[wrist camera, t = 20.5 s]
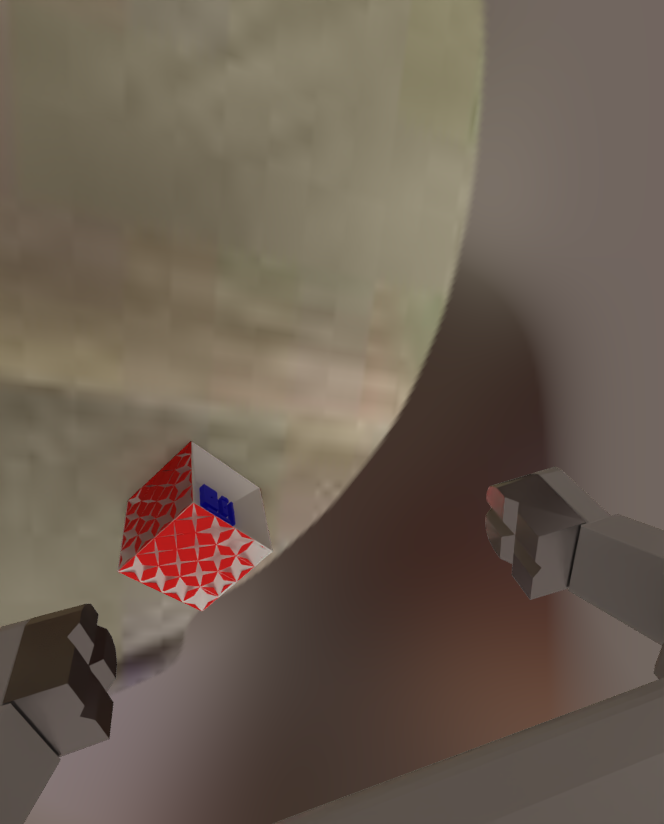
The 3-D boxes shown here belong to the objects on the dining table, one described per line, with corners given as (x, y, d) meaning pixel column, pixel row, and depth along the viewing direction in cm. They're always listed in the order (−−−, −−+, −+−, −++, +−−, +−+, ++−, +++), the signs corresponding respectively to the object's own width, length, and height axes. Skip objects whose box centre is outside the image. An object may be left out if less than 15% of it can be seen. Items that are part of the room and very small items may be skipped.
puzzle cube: (127, 500, 43) (117, 571, 36) (191, 440, 41) (192, 502, 35) (200, 541, 47) (203, 612, 40) (260, 487, 46) (273, 551, 39)
